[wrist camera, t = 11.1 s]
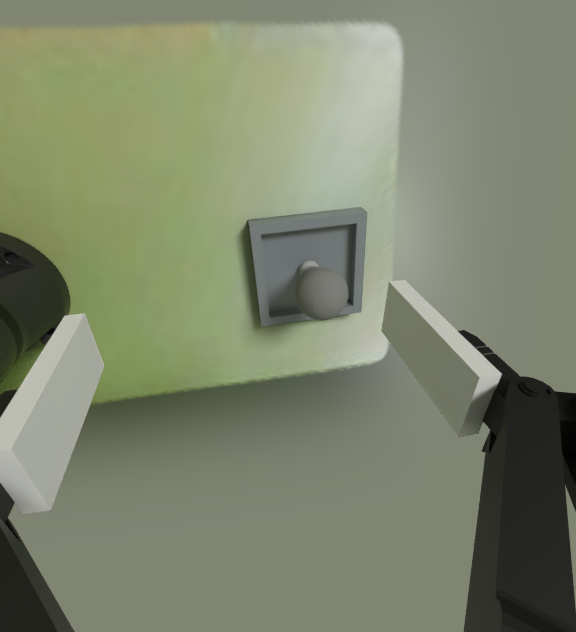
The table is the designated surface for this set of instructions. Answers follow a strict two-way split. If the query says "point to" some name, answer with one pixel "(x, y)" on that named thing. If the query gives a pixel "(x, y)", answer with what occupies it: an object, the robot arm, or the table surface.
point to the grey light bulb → (320, 291)
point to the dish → (306, 258)
